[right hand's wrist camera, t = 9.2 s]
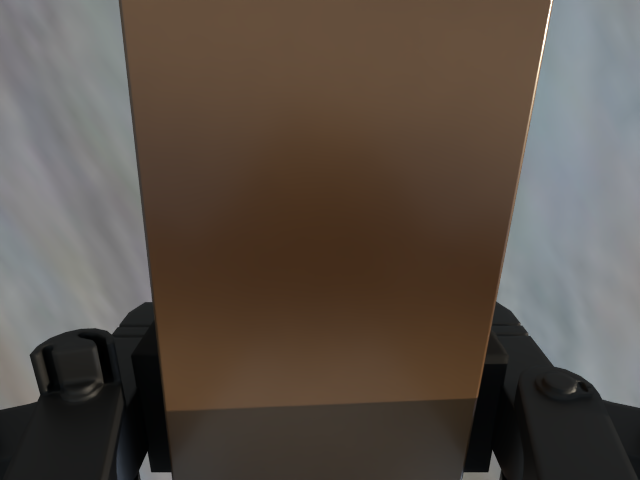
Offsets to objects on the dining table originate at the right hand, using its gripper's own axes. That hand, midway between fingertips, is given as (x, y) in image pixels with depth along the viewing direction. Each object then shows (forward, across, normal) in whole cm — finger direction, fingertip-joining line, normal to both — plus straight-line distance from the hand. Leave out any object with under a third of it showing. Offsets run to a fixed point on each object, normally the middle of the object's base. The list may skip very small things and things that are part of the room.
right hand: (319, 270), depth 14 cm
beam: (+1, -1, -28) cm, 28 cm away
